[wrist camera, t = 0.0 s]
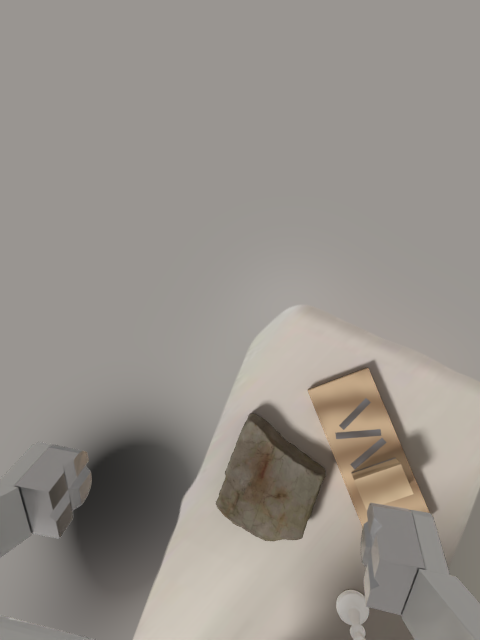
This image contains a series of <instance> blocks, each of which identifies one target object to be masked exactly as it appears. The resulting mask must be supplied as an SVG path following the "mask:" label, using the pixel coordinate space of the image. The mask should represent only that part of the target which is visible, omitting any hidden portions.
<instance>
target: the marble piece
mask: <svg viewBox="0 0 480 640" xmlns="http://www.w3.org/2000/svg"><path fill="white" fill-rule="evenodd" d="M225 475H226V478H225V481H224V483H223V485H222V489H221V490H220V493H219V498H218V499H217V501H216V505H217V507H218V509H219V510H220V511H221V512H222V514H223V515H224V516H225V517H227V518H228V519H229V520H231V521H232V523H233V524H235V525H237V526H239V527H242V528H243V529H245V530H246V531H248V532H250V533H251V534H253V535H255V536H256V537H259V538H261V539H263V540H265V541H276V540H281V539H287V540H298V539H301V538H302V537H303V534H304V530H305V528H306V524H307V521H308V519H309V517H310V516H311V513H312V509H313V506H314V503H315V501H316V498H317V496H318V493H319V490H320V486H321V483H322V482H323V480H324V478H325V469H324V468H323V467H322V466H320V465H319V464H318V463H317V462H315V461H313V460H311V459H310V458H309V457H308V456H307V455H306V454H304V453H303V452H301V451H300V450H298V448H297V447H296V446H294V445H292V444H291V443H289V442H288V441H286V440H285V439H284V438H283V437H282V436H281V435H280V433H279V432H277V431H276V430H275V429H274V428H273V427H272V426H271V425H270V424H269V423H268V422H267V421H265V420H264V419H263V418H261V417H259V416H258V415H256V414H250V415H249V416H248V419H247V421H246V423H245V424H244V426H243V428H242V431H241V433H240V435H239V438H238V441H237V443H236V447H235V449H234V452H233V453H232V455H231V459H230V462H229V463H228V467H227V469H226V471H225Z"/></svg>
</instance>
